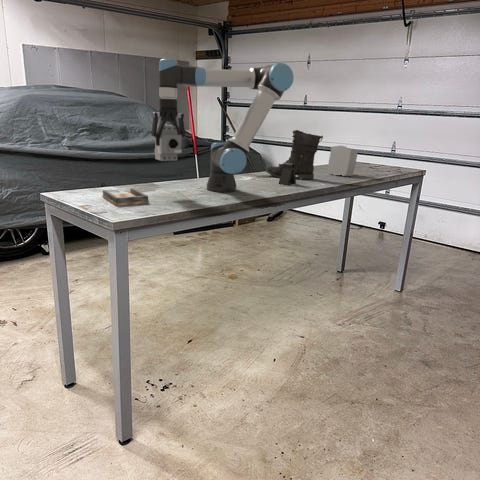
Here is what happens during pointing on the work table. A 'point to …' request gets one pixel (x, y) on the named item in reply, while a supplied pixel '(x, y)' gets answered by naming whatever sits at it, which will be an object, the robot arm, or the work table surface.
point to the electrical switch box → (342, 161)
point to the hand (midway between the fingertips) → (168, 153)
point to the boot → (300, 155)
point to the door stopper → (287, 174)
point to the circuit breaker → (169, 144)
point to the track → (126, 198)
